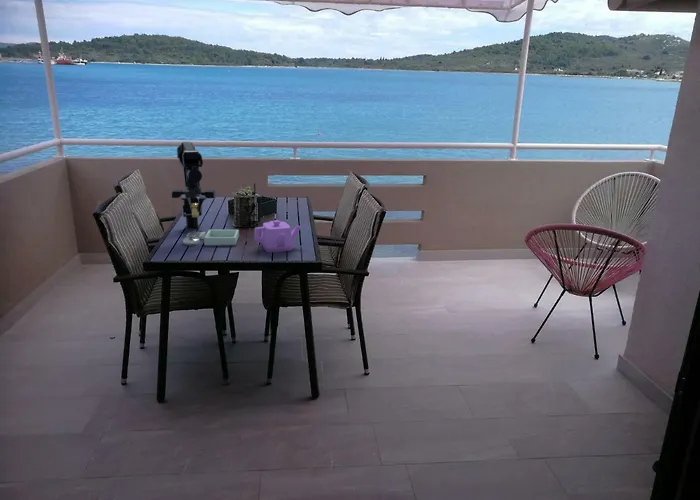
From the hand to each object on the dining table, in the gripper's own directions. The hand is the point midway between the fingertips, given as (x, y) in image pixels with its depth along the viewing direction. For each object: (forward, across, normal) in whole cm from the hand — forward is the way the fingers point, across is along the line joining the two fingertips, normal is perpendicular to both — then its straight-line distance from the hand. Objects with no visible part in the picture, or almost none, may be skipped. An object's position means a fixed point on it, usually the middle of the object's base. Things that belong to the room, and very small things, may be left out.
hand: (195, 212), depth 231 cm
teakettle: (+12, +39, -16) cm, 43 cm away
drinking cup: (+12, +24, +32) cm, 42 cm away
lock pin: (+2, 0, 0) cm, 2 cm away
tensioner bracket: (+12, 0, -5) cm, 13 cm away
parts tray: (+12, +13, -6) cm, 18 cm away
